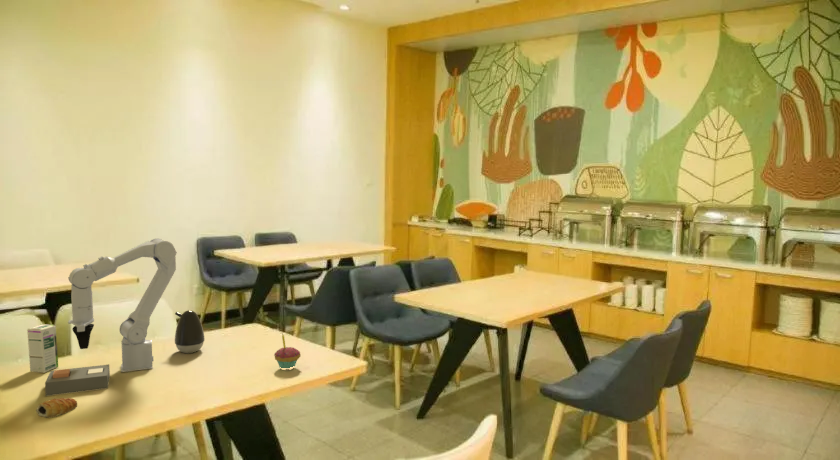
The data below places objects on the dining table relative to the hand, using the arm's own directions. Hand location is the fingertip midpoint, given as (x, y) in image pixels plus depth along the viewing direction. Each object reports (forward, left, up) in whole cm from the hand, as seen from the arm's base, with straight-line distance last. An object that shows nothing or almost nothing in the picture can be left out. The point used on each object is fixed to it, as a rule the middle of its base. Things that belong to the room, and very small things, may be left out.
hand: (84, 348), depth 186 cm
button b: (+5, +8, -8) cm, 12 cm away
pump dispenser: (-32, -16, -10) cm, 37 cm away
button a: (-3, +8, -9) cm, 12 cm away
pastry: (+5, +27, -10) cm, 29 cm away
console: (+1, +8, -9) cm, 12 cm away
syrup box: (+13, -13, -10) cm, 21 cm away
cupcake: (-61, +16, -10) cm, 64 cm away
